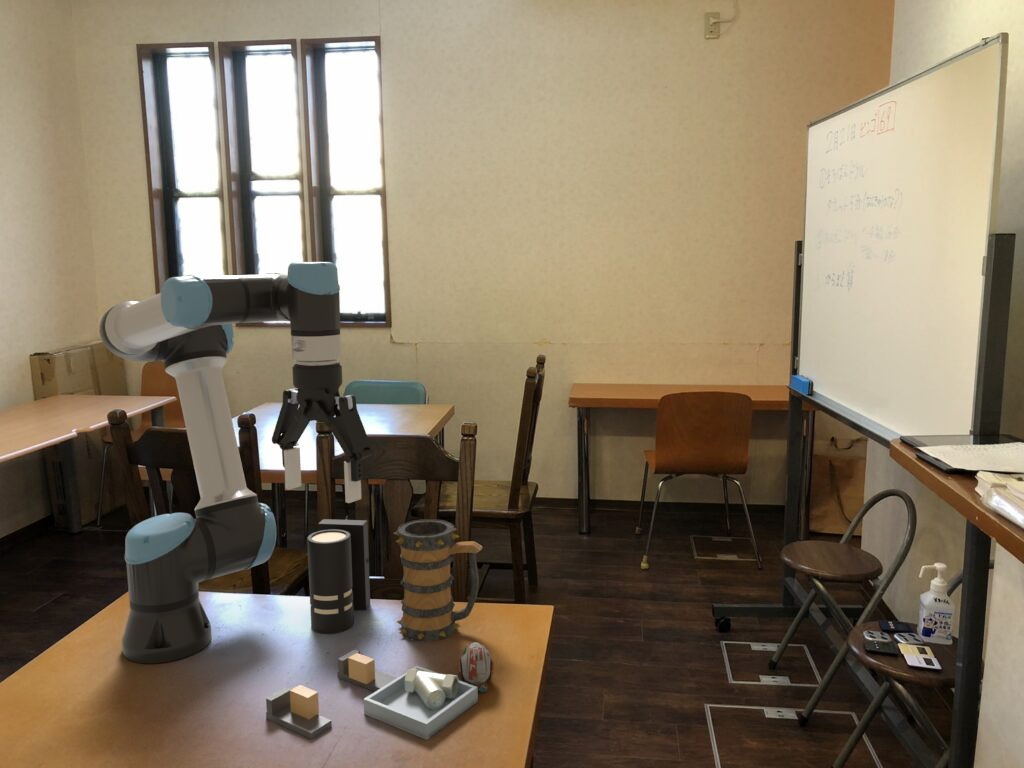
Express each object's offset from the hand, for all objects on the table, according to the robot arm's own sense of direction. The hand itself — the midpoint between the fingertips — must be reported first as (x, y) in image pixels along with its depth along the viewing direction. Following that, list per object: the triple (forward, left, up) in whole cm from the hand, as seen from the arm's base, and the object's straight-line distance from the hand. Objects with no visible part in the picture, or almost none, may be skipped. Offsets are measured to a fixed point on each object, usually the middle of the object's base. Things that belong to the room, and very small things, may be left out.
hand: (322, 494), depth 131 cm
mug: (+2, +26, -33) cm, 42 cm away
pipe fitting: (+17, +4, -32) cm, 37 cm away
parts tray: (+17, +3, -33) cm, 37 cm away
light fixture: (-18, +19, -33) cm, 42 cm away
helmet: (+20, +14, -33) cm, 41 cm away
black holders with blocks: (+4, -3, -33) cm, 33 cm away
